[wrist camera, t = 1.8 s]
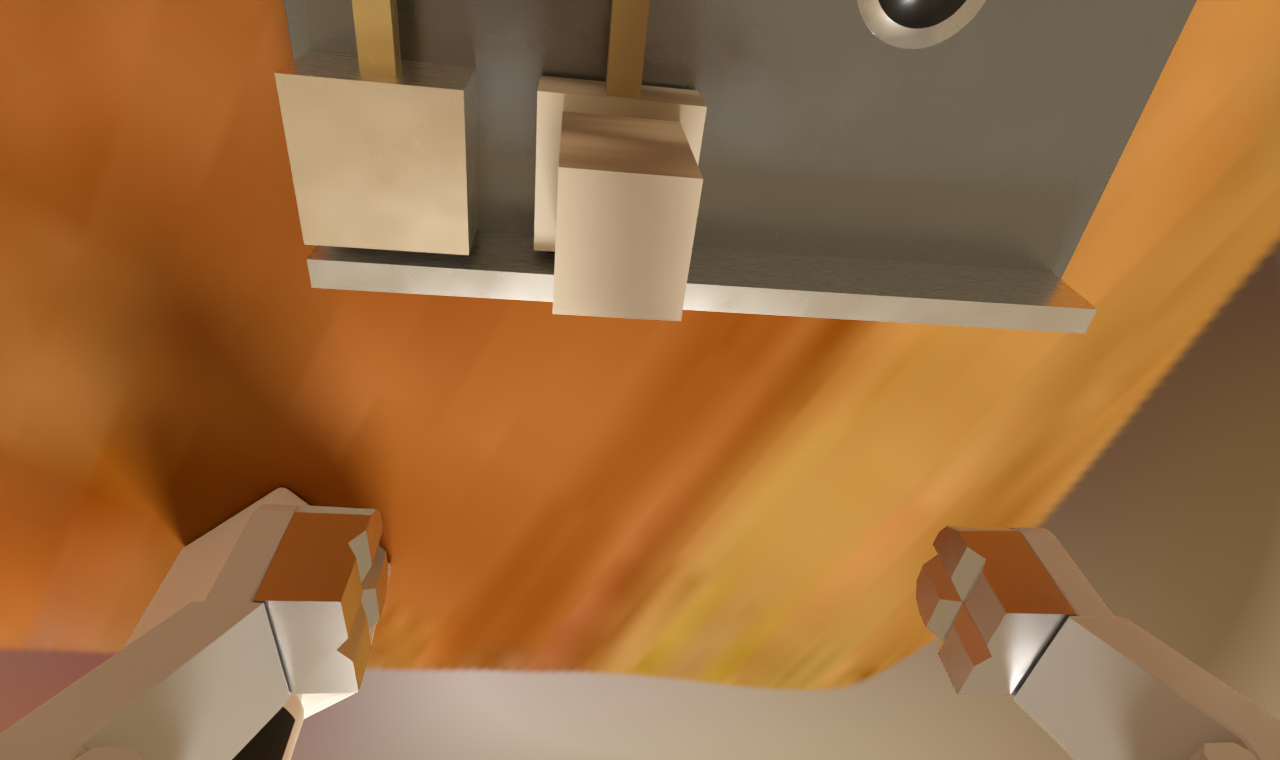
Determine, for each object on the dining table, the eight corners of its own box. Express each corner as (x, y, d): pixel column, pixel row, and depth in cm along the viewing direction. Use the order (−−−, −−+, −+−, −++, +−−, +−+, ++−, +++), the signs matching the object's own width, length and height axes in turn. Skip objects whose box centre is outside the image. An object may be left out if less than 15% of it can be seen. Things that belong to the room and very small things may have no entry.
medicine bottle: (180, 546, 35) (23, 809, 25) (283, 481, 33) (157, 738, 23) (297, 619, 38) (200, 873, 29) (395, 563, 36) (328, 816, 27)
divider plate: (331, 235, 26) (295, 286, 23) (254, -276, 18) (183, -310, 15) (1039, 283, 29) (1097, 334, 26) (1235, -133, 22) (1353, -135, 18)
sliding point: (536, 226, 25) (524, 328, 19) (544, -102, 20) (530, -94, 14) (676, 236, 26) (704, 338, 20) (722, -80, 20) (777, -63, 15)
